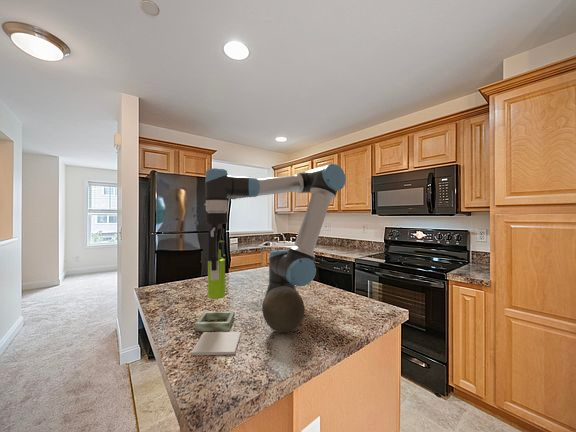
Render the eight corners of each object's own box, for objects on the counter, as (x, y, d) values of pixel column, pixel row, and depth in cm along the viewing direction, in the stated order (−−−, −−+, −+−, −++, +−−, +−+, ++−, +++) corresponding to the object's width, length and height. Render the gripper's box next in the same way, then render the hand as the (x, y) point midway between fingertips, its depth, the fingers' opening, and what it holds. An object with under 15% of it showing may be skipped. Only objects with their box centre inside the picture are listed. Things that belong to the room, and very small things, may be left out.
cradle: (234, 318, 95) (234, 311, 95) (229, 330, 85) (229, 323, 85) (203, 318, 95) (203, 311, 95) (194, 331, 84) (194, 323, 84)
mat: (240, 334, 82) (240, 331, 82) (234, 354, 70) (234, 351, 70) (203, 334, 82) (203, 332, 82) (191, 355, 70) (191, 352, 70)
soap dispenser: (229, 293, 93) (229, 239, 93) (218, 299, 86) (218, 241, 86) (216, 292, 95) (215, 239, 95) (204, 298, 88) (204, 241, 88)
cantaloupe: (264, 322, 91) (265, 281, 91) (303, 323, 91) (304, 282, 91) (259, 342, 77) (259, 293, 77) (305, 343, 77) (305, 294, 77)
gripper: (212, 212, 99) (213, 271, 99) (197, 212, 80) (198, 284, 80) (231, 212, 99) (232, 271, 99) (221, 212, 80) (221, 284, 81)
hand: (217, 276), depth 90 cm, fingers closed on soap dispenser, 6 cm apart
